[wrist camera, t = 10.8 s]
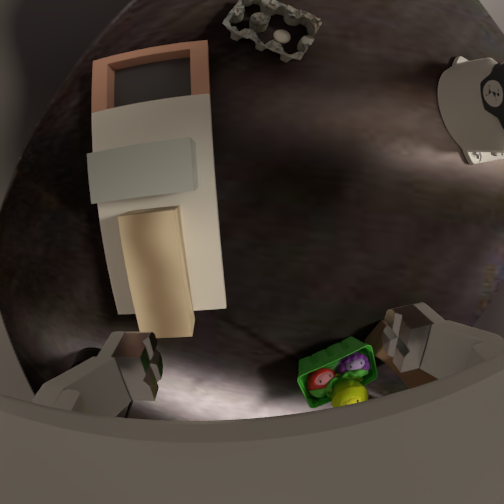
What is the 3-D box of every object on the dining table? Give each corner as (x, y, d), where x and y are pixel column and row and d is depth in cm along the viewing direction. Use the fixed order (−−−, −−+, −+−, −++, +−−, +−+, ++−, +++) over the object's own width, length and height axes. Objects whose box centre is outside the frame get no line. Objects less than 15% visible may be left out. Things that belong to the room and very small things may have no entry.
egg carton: (317, 33, 30) (327, 20, 26) (292, 72, 32) (300, 62, 28) (246, -2, 28) (249, -18, 24) (217, 35, 30) (217, 21, 26)
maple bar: (180, 205, 32) (174, 210, 28) (195, 319, 36) (192, 336, 32) (129, 210, 31) (117, 216, 28) (148, 321, 35) (141, 338, 32)
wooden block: (362, 340, 43) (419, 417, 26) (380, 318, 42) (446, 388, 25) (393, 360, 45) (447, 427, 28) (410, 340, 44) (470, 403, 27)
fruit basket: (357, 325, 42) (391, 368, 31) (367, 365, 44) (397, 408, 34) (288, 356, 42) (306, 408, 31) (305, 393, 45) (323, 443, 34)
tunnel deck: (208, 49, 30) (205, 19, 22) (225, 298, 39) (227, 330, 31) (101, 67, 29) (74, 46, 21) (124, 304, 38) (104, 335, 30)
